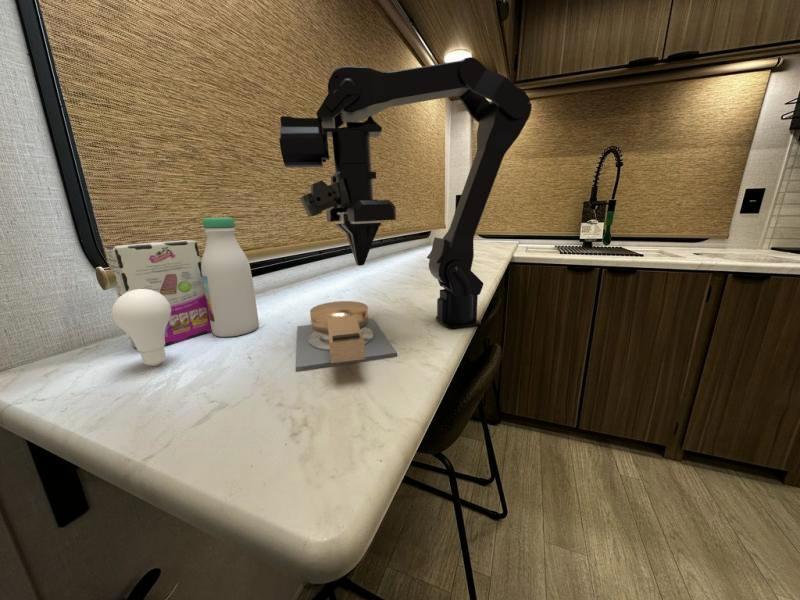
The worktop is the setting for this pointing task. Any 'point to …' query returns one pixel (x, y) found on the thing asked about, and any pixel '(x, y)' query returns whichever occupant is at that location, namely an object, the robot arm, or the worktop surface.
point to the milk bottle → (227, 281)
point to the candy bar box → (165, 282)
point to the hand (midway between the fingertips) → (360, 265)
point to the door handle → (342, 328)
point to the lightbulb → (144, 322)
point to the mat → (320, 358)
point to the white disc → (322, 339)
